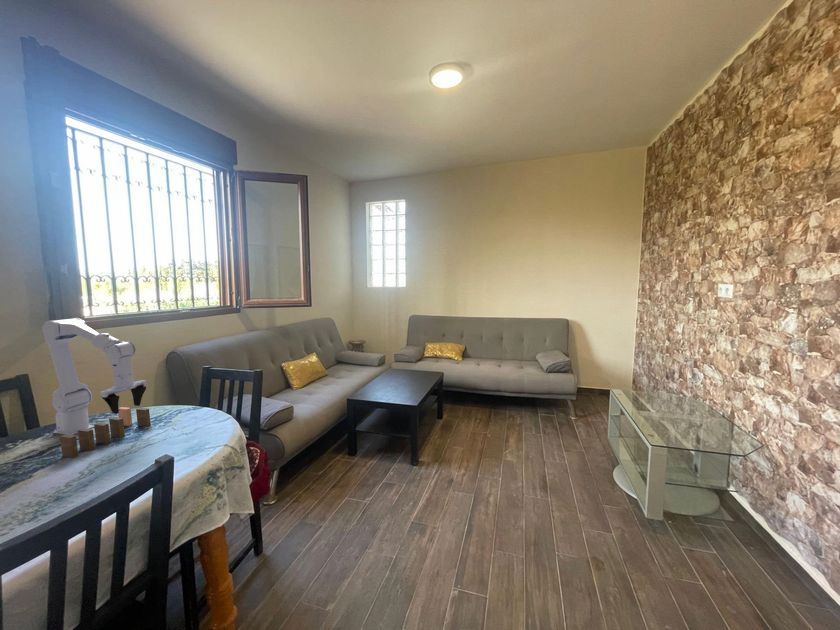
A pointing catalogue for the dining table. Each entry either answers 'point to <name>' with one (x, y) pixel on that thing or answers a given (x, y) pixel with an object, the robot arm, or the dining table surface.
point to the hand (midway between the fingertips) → (126, 409)
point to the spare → (125, 415)
